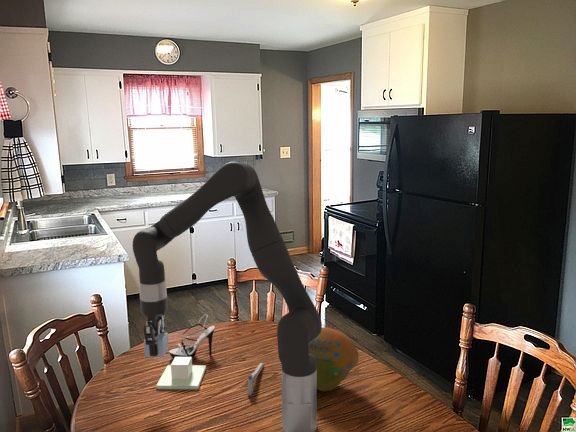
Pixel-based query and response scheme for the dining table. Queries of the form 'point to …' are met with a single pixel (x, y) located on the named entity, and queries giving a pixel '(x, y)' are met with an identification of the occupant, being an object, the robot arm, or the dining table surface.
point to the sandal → (192, 350)
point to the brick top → (161, 345)
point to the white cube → (181, 368)
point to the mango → (332, 357)
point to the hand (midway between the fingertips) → (157, 350)
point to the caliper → (253, 378)
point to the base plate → (192, 383)
